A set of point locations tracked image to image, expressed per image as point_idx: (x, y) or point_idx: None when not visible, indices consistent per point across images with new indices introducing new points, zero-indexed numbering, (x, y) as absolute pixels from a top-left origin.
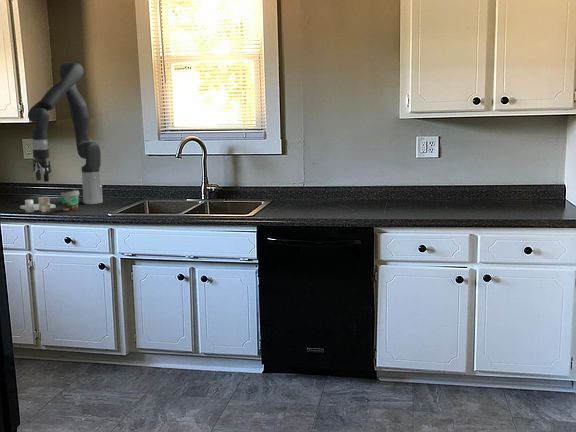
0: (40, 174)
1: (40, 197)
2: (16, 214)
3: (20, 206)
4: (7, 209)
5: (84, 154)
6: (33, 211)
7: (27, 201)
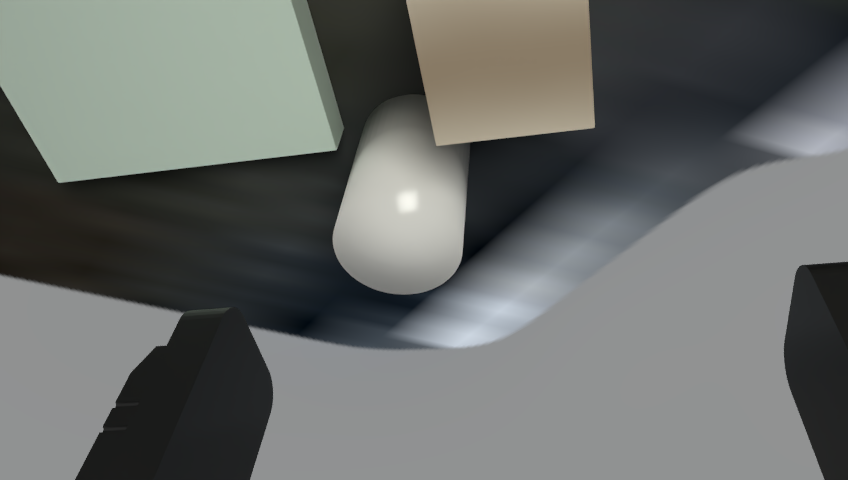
0: (165, 467)
1: (440, 110)
2: (518, 295)
3: (74, 177)
4: (83, 270)
5: None
6: None
7: (451, 269)
